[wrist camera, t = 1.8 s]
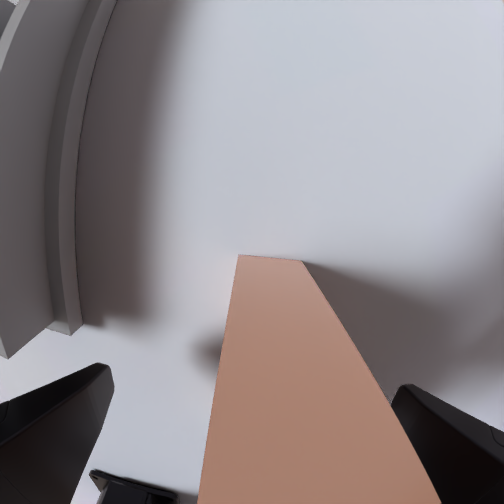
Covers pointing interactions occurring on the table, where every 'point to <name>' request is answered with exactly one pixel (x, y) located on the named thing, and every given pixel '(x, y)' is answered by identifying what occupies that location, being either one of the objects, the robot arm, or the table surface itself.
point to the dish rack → (42, 160)
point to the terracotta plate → (300, 404)
